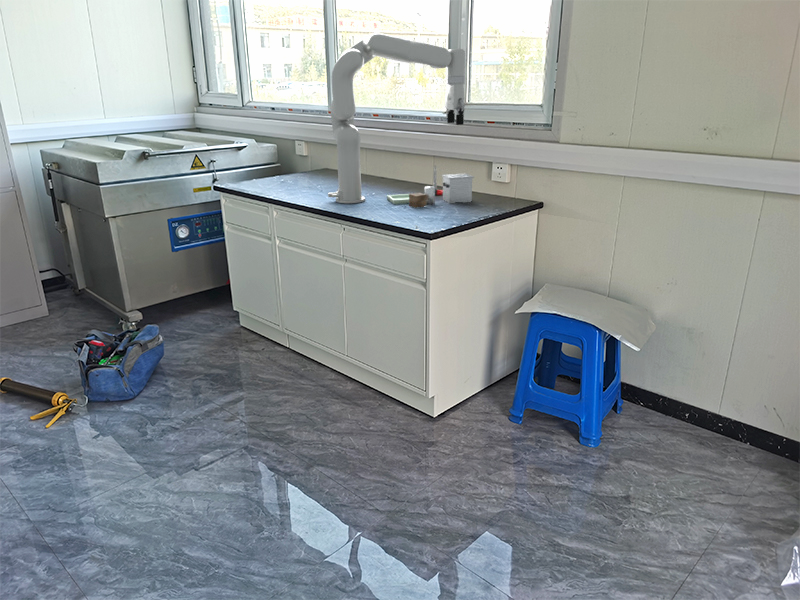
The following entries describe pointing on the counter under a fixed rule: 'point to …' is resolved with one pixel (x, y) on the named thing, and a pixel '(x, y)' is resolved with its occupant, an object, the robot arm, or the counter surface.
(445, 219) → the counter surface
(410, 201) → the walnut block
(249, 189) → the counter surface
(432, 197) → the spacer
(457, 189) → the control box
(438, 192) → the red base rod stand
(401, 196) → the tray
